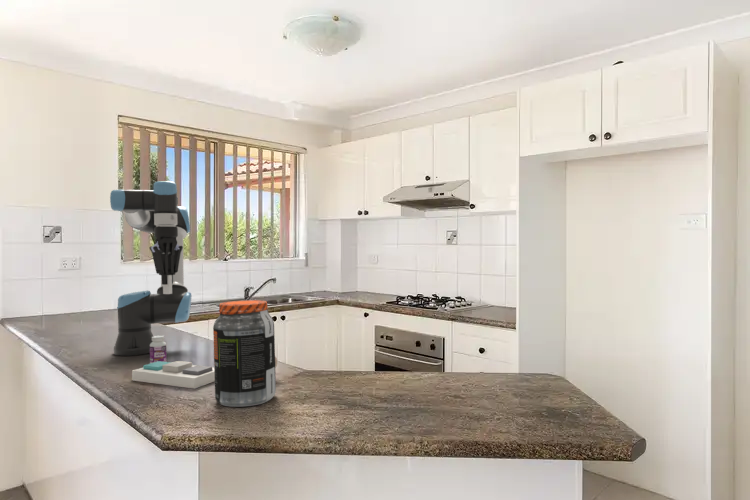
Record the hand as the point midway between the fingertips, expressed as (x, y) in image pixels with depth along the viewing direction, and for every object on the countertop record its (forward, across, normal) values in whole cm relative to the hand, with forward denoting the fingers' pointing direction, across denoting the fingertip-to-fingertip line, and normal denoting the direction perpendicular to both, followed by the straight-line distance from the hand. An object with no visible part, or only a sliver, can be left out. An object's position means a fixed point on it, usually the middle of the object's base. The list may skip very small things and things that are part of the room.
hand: (167, 293), depth 179 cm
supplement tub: (+25, -24, -52) cm, 62 cm away
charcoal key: (+23, -15, -27) cm, 39 cm away
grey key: (+23, -15, -19) cm, 33 cm away
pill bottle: (+25, -2, +3) cm, 25 cm away
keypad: (+24, -15, -19) cm, 34 cm away
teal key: (+23, -15, -11) cm, 30 cm away
